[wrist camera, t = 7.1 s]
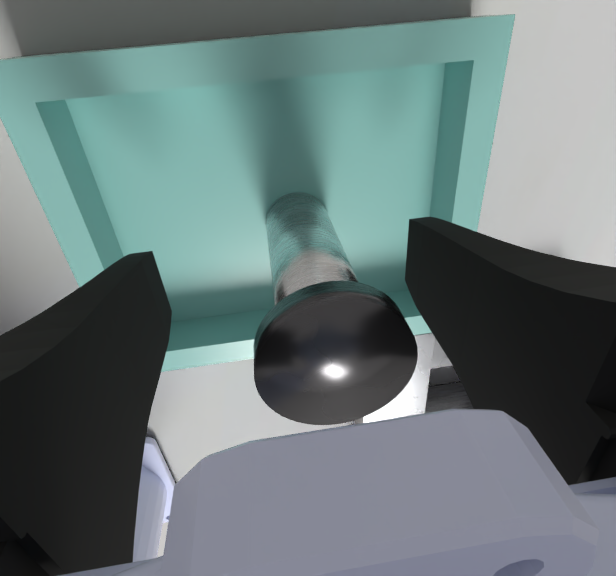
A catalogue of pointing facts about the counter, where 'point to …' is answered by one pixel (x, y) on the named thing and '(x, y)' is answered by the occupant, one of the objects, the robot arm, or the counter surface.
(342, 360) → the pin
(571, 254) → the counter surface
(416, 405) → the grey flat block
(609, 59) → the counter surface
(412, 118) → the tray
